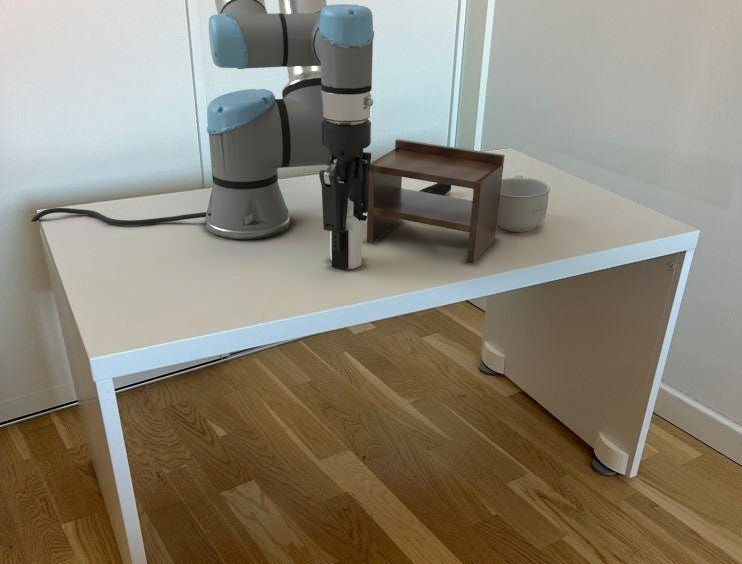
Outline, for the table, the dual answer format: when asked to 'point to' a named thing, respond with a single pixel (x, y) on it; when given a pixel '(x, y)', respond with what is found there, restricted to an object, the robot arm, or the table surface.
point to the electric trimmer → (437, 189)
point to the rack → (431, 208)
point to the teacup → (522, 203)
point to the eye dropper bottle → (352, 238)
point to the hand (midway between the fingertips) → (346, 262)
